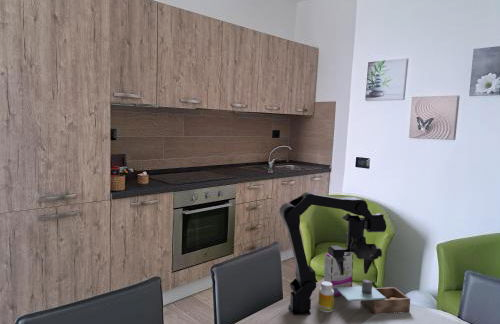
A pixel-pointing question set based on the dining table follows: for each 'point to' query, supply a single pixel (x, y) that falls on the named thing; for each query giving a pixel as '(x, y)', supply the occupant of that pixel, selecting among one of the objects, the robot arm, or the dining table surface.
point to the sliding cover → (361, 292)
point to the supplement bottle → (326, 297)
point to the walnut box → (389, 302)
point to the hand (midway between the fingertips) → (353, 274)
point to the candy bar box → (338, 272)
